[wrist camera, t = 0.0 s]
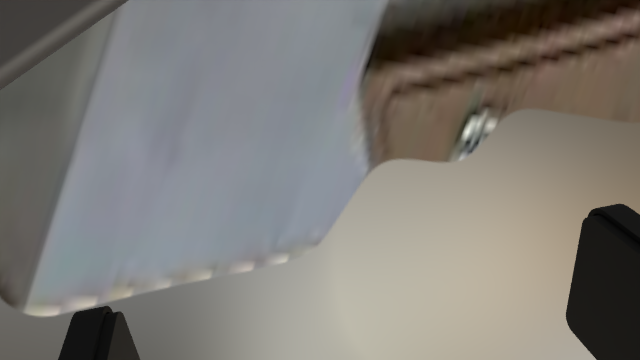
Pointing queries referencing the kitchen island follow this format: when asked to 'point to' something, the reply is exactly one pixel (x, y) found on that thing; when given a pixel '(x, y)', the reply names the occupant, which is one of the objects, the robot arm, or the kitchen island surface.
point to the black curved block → (42, 30)
